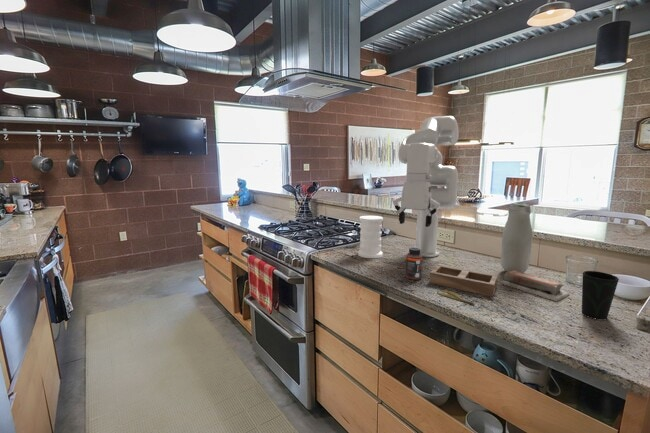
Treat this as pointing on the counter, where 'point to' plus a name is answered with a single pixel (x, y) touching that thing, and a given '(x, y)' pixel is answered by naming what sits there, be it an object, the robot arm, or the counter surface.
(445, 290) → the tongs
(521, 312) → the counter surface
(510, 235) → the glass bottle
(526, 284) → the packaged product
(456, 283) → the rack
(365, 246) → the decorative container
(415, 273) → the supplement bottle
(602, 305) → the cup
